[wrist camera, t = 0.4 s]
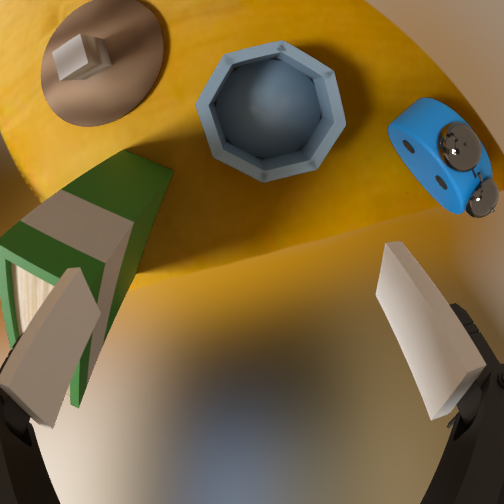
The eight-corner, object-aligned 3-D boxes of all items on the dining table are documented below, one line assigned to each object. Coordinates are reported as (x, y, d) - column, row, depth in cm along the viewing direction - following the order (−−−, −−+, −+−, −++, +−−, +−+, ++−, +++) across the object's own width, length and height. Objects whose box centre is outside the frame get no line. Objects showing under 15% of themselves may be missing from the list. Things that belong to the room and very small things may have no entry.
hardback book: (136, 273, 43) (78, 408, 23) (94, 255, 41) (18, 377, 21) (174, 170, 35) (87, 291, 15) (123, 149, 33) (-5, 242, 13)
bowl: (193, 71, 29) (183, 67, 24) (310, 42, 27) (323, 34, 22) (228, 177, 36) (225, 193, 31) (337, 150, 34) (353, 161, 29)
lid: (35, 42, 24) (3, 41, 18) (145, -24, 22) (125, -43, 15) (66, 146, 33) (37, 160, 27) (183, 92, 30) (168, 92, 24)
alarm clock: (446, 166, 35) (515, 208, 22) (419, 191, 37) (481, 243, 24) (401, 92, 30) (477, 104, 17) (369, 119, 32) (436, 143, 19)
